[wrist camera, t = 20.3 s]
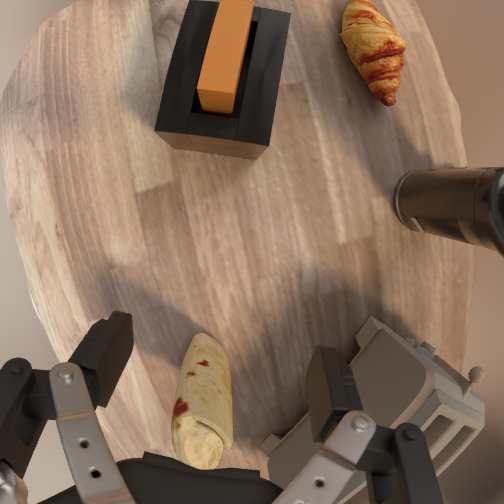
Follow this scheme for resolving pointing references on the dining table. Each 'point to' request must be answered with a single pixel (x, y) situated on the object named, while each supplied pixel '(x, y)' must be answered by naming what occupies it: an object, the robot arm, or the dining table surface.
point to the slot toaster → (248, 94)
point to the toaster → (393, 406)
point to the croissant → (373, 48)
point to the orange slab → (225, 57)
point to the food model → (203, 405)
